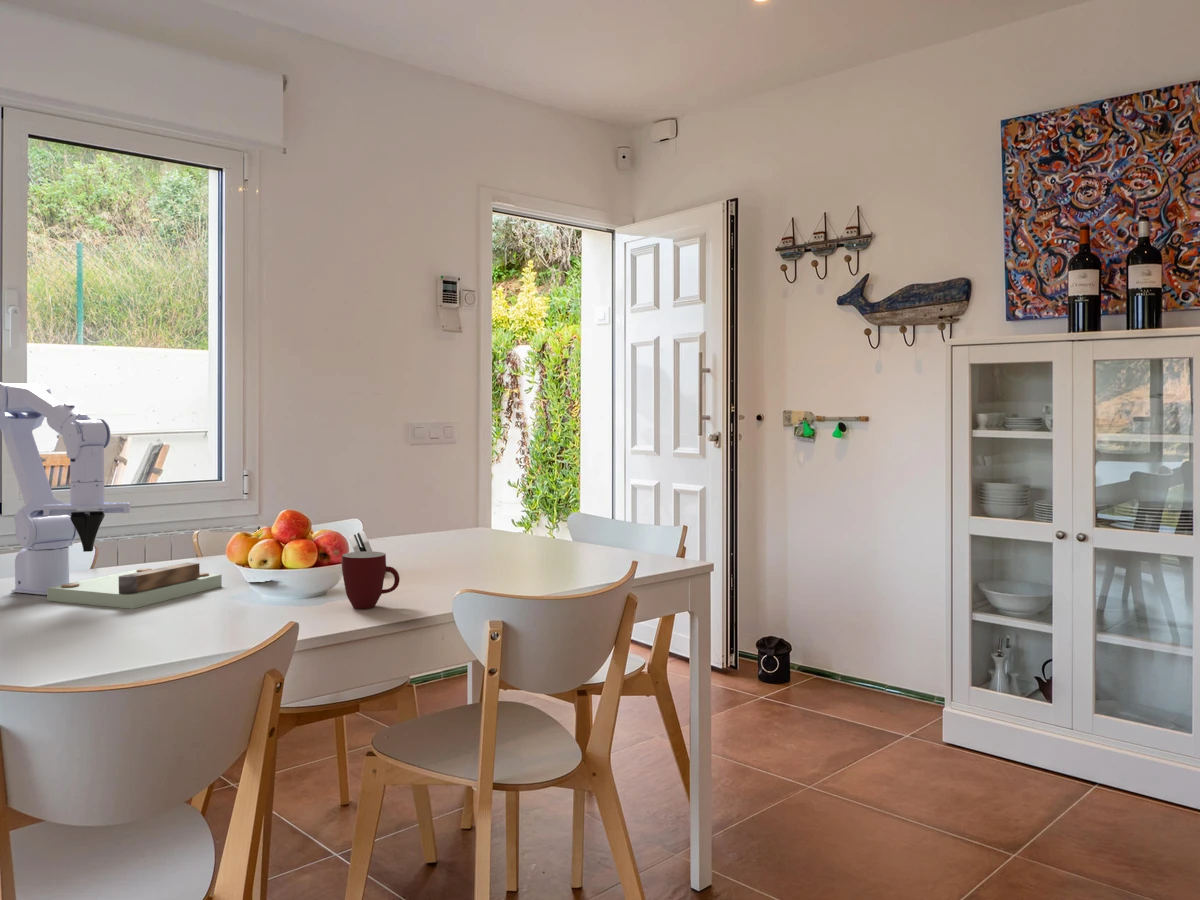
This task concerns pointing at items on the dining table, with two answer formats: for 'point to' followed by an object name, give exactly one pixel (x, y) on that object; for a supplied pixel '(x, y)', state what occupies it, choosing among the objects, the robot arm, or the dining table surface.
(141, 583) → the folding leg
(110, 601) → the stool seat
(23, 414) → the robot arm
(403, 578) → the dining table surface
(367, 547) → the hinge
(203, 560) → the dining table surface
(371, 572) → the mug
